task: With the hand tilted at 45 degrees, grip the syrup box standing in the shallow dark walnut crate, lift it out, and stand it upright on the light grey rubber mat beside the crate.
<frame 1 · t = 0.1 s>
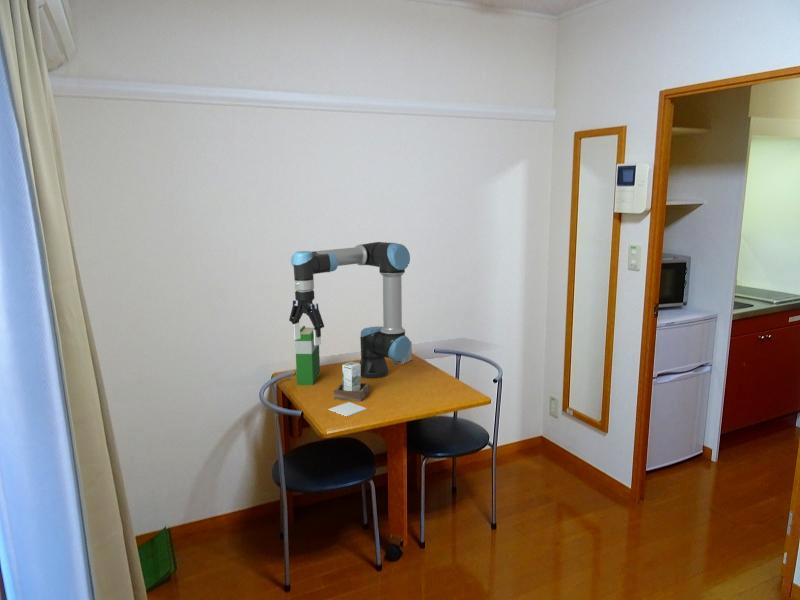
hand: (307, 341, 232), 28 cm above the table, tool pointing down, fingers open, 13 cm apart
syrup box: (352, 396, 250), resting in walnut crate
grey mat: (347, 409, 233), on the table
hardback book: (308, 379, 273), on the table
walnut crate: (352, 395, 249), on the table
skincare box: (401, 362, 299), on the table
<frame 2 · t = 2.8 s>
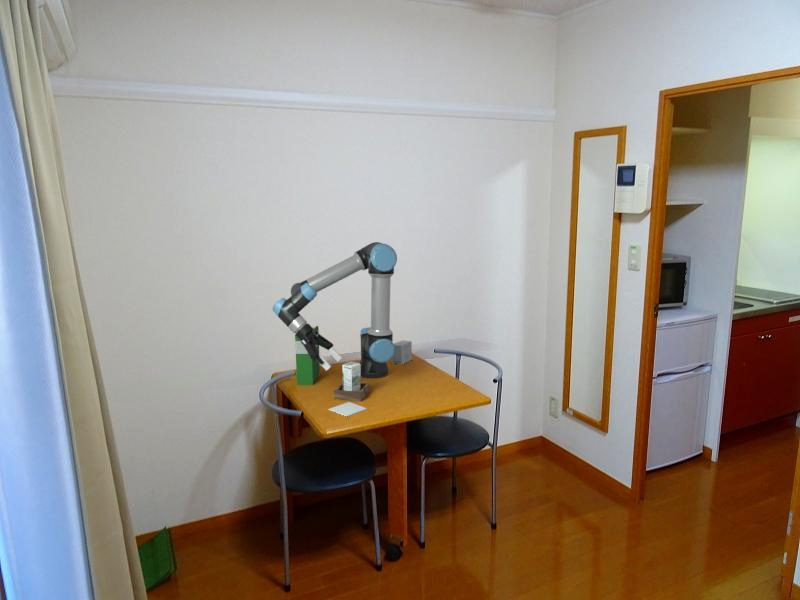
hand: (334, 364, 248), 14 cm above the table, tool tilted 45°, fingers open, 13 cm apart
nothing on the table moved.
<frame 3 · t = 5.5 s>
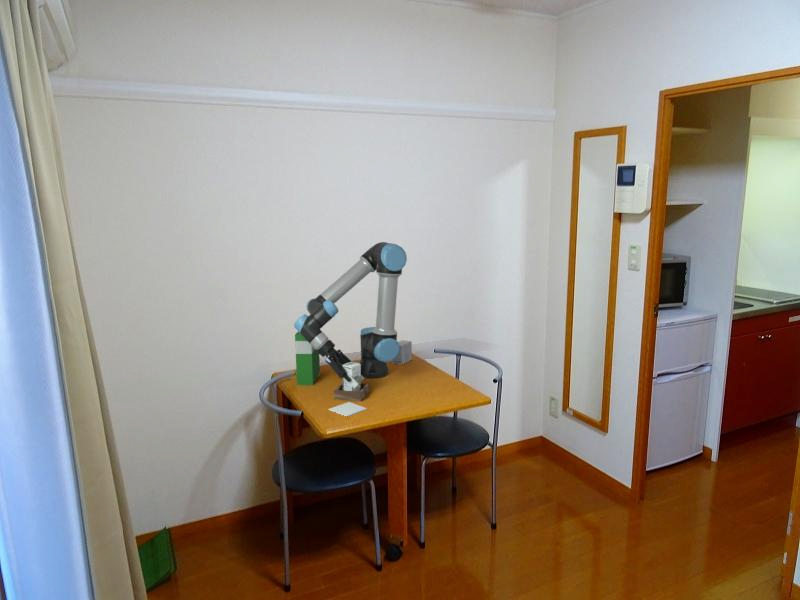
hand: (359, 383, 248), 6 cm above the table, tool tilted 45°, fingers closed on syrup box, 7 cm apart
syrup box: (352, 396, 250), resting in walnut crate, touching gripper
everything else where it was.
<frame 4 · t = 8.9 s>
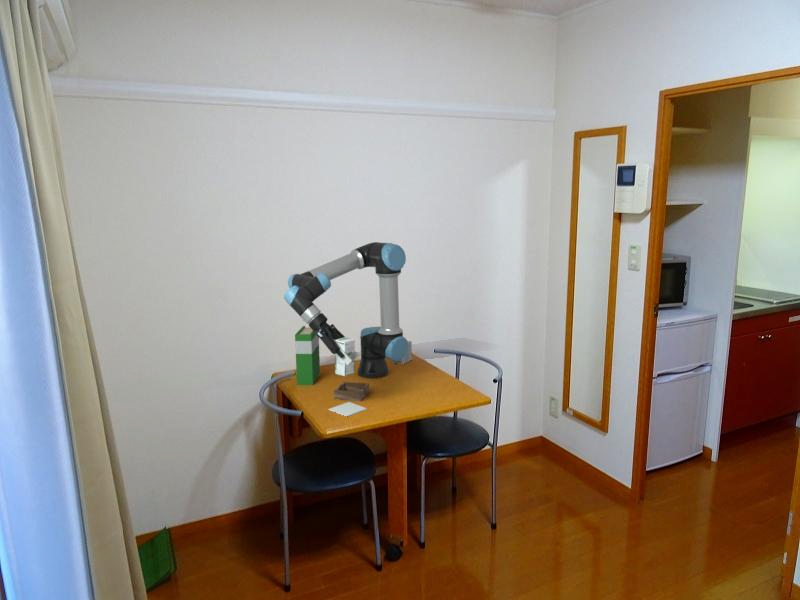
hand: (353, 360, 230), 21 cm above the table, tool tilted 45°, fingers closed on syrup box, 7 cm apart
syrup box: (345, 374, 232), point 15 cm above the table, touching gripper
everything else where it was.
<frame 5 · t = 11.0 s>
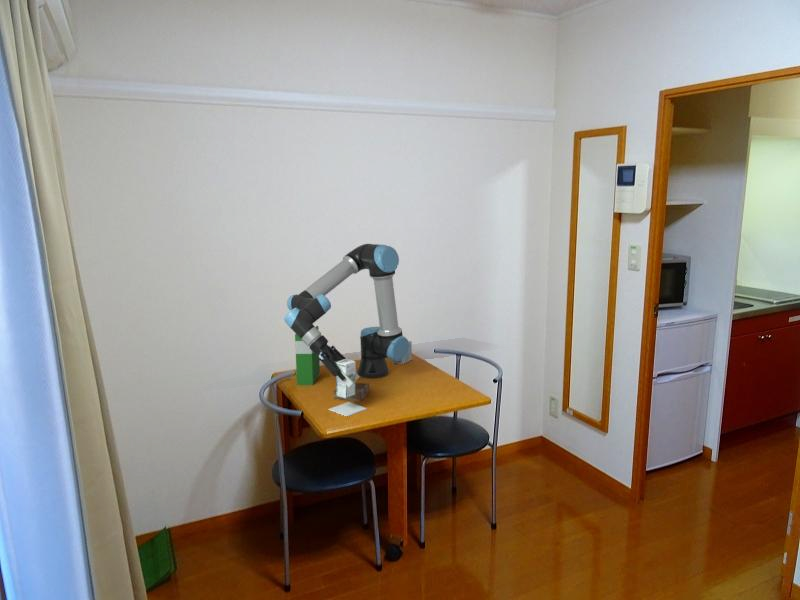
hand: (354, 381, 230), 12 cm above the table, tool tilted 45°, fingers closed on syrup box, 7 cm apart
syrup box: (346, 396, 232), point 6 cm above the table, touching gripper
everything else where it was.
when the fingers open (8 cm above the table, at t = 12.5 s): syrup box drops 2 cm, resting on grey mat.
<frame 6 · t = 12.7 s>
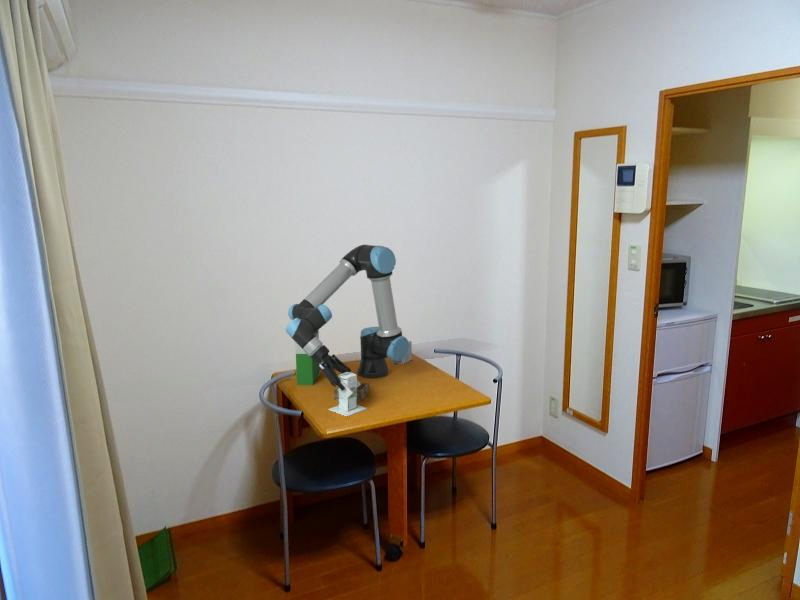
hand: (354, 390, 231), 8 cm above the table, tool tilted 45°, fingers open, 9 cm apart
syrup box: (347, 408, 234), resting on grey mat
everything else where it was.
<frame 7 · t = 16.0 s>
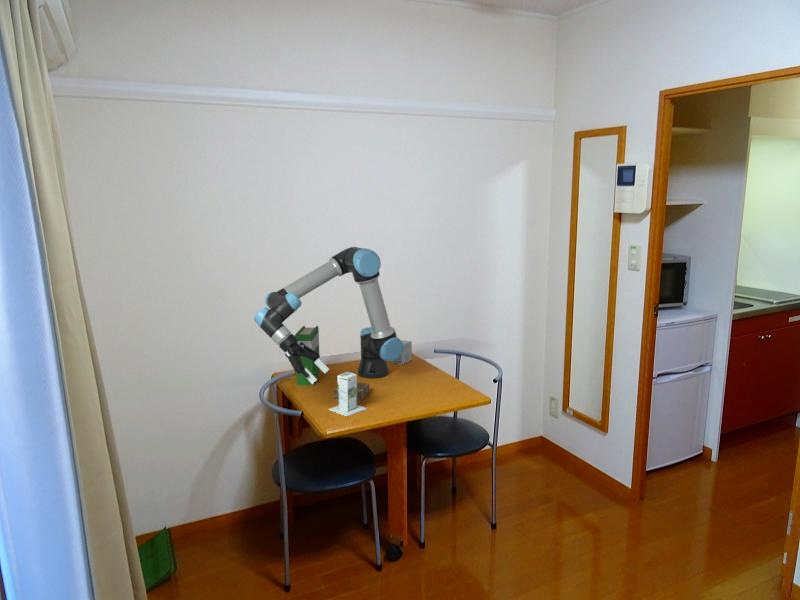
hand: (321, 376, 233), 13 cm above the table, tool tilted 45°, fingers open, 13 cm apart
nothing on the table moved.
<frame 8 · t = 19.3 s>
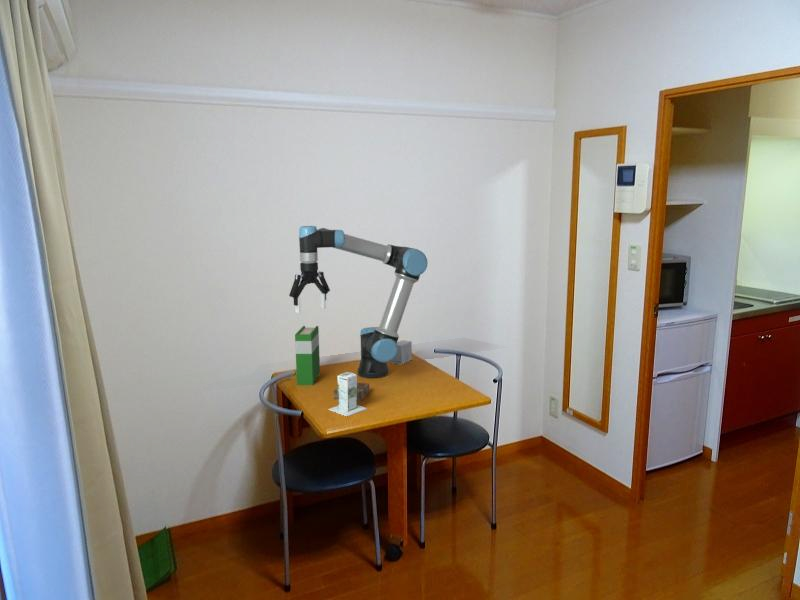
hand: (310, 310, 250), 37 cm above the table, tool pointing down, fingers open, 13 cm apart
nothing on the table moved.
at the end: syrup box inside the target area on the grey mat (0.3 cm from its centre), point 0.2 cm above the grey mat's base; syrup box tilted 0°; the gripper is holding nothing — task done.
